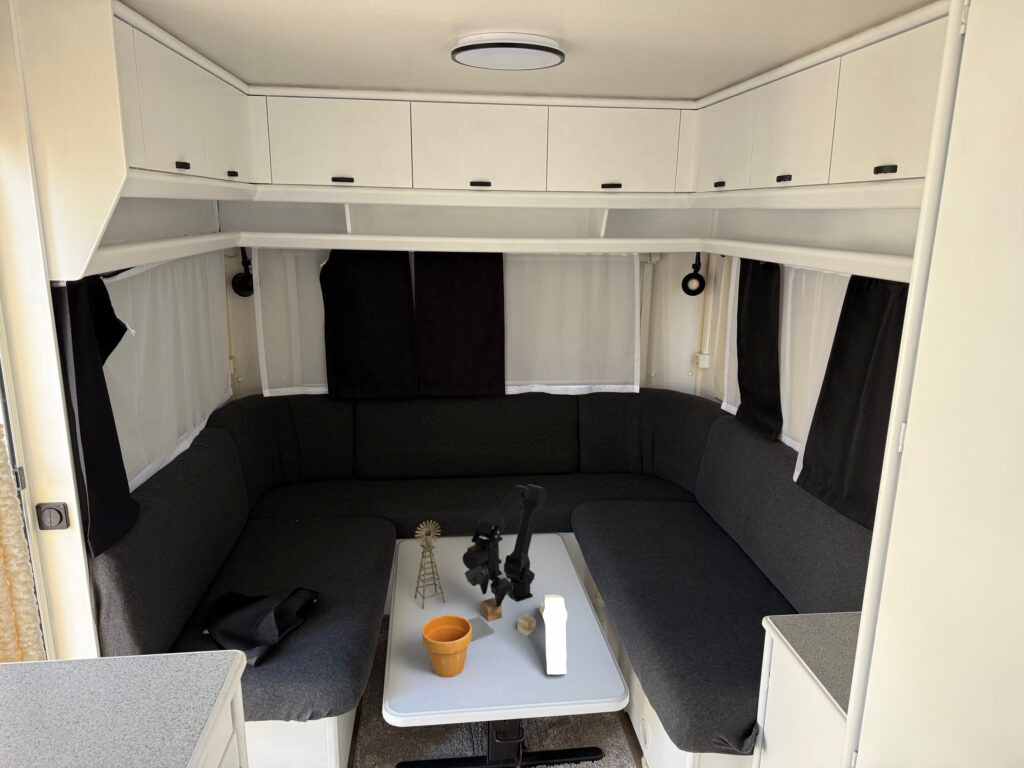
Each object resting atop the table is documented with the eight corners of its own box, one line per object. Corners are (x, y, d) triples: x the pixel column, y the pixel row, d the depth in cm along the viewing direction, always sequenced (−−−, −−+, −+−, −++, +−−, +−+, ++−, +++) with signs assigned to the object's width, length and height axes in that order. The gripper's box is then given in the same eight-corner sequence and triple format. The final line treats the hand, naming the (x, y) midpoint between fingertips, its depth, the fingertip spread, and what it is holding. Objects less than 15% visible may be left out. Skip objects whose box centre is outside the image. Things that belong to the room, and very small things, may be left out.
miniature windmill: (421, 609, 233) (417, 526, 226) (413, 597, 240) (409, 517, 233) (446, 602, 237) (443, 521, 230) (437, 591, 244) (434, 512, 237)
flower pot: (415, 677, 198) (413, 636, 195) (437, 649, 211) (435, 610, 208) (460, 688, 193) (459, 646, 190) (480, 658, 206) (479, 619, 203)
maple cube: (526, 625, 223) (526, 614, 222) (535, 630, 220) (535, 619, 219) (517, 630, 220) (517, 619, 219) (526, 635, 218) (526, 624, 217)
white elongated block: (560, 656, 228) (558, 591, 233) (569, 674, 195) (566, 597, 200) (539, 657, 228) (538, 591, 232) (544, 674, 195) (542, 598, 200)
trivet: (479, 618, 227) (479, 616, 227) (494, 633, 219) (494, 631, 219) (457, 625, 223) (457, 623, 223) (471, 641, 215) (471, 638, 215)
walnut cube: (494, 610, 232) (493, 597, 231) (501, 617, 228) (501, 604, 226) (480, 615, 229) (480, 601, 228) (488, 622, 225) (488, 608, 224)
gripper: (454, 551, 227) (456, 594, 231) (482, 575, 212) (483, 621, 215) (484, 543, 233) (485, 585, 237) (513, 566, 217) (514, 610, 221)
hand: (491, 600), depth 227 cm, fingers open, 9 cm apart
